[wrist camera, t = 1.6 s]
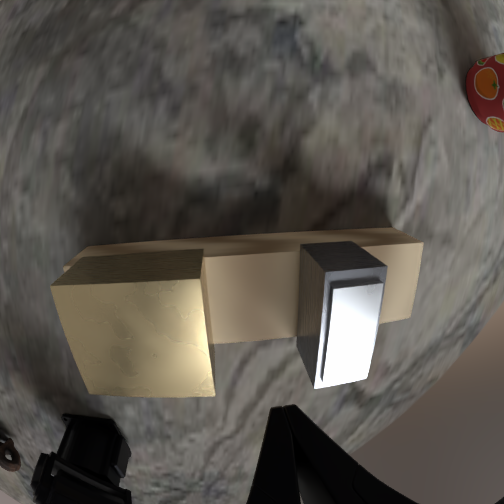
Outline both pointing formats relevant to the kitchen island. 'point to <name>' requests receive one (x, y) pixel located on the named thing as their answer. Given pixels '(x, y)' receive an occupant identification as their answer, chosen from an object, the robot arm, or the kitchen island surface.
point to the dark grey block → (338, 310)
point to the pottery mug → (9, 449)
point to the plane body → (279, 276)
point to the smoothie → (487, 90)
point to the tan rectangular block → (139, 323)
